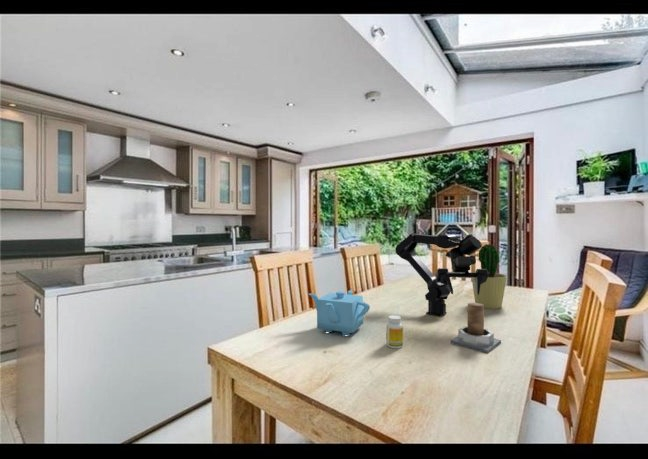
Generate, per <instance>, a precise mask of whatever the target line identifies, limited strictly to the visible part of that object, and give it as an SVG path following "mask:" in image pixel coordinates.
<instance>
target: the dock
mask: <svg viewBox="0 0 648 459" xmlns="http://www.w3.org/2000/svg"><path fill="white" fill-rule="evenodd" d="M467 330H468V325H466V326H465V325H464V326H462V327H459V328H458V329H457V331H458V335H457V336H455V337H453V338H451V339H450V340H449V342H450V344H453V345H457V346H459V347H463V348H467V349H471V350H475V351H477V352H478V351H479V352H481V353H486V354H489V353H490V352H491V351H492V350H494V349H495V348H496V347H498V346H499V345H500V344H502V340H501V339H499V338H495V337H494V336H495V335H494V334H495V333H494V332H493V331H491V330H489V329H488V328H485V327H484V335H472V334H468V333H467Z"/></svg>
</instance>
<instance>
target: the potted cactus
mask: <svg viewBox="0 0 648 459" xmlns="http://www.w3.org/2000/svg"><path fill="white" fill-rule="evenodd" d="M497 250H498V248H497V247H495V246H494V244H493V243H490V244H489V243H488V244H487V243H485V244H484V245H482V247H481V248H480V249H479V250H478V255H476V256H477V257H478V259H477V258H476V261H478V263H480V269H487V270H488V272H489V276H488V278H487V280H486V282H484V283H483V284H481V285H480V292H479V295H477V292H476V287H475V280H474V278H471V283H472V290H473V296H474V303H480V304H483V305H484V309H493V310H494V309H501V308H502V306H503V302H504V301H503V300H504V296H505V288H506V283H507V277H508V276H507V274H504V273H499V272H498V266H499V264H500V263H499V262H501V261H500V260H501V259H500V255H499V251H497Z"/></svg>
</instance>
